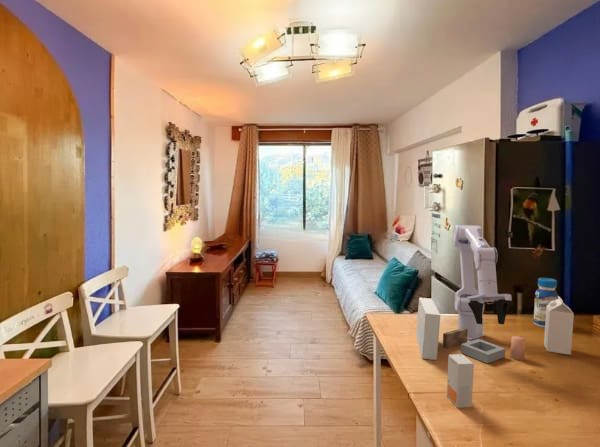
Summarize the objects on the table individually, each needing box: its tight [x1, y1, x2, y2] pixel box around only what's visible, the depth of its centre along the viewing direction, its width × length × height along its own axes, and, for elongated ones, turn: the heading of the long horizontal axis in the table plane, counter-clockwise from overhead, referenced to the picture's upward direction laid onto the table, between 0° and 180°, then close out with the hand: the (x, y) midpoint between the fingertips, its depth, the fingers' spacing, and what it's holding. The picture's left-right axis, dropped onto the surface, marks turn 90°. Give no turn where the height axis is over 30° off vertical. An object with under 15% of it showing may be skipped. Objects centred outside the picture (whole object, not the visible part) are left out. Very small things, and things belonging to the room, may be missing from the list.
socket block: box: [460, 338, 506, 364], centre depth 132 cm, size 10×10×3 cm
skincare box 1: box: [415, 297, 441, 361], centre depth 137 cm, size 21×5×16 cm, turn 168°
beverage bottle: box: [533, 277, 559, 328], centre depth 163 cm, size 8×8×20 cm
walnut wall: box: [442, 328, 468, 349], centre depth 141 cm, size 12×2×5 cm, turn 121°
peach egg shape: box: [509, 335, 526, 361], centre depth 130 cm, size 4×4×7 cm
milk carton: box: [543, 295, 575, 356], centre depth 137 cm, size 7×7×19 cm
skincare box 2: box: [446, 353, 475, 409], centre depth 102 cm, size 6×4×12 cm
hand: (490, 324), depth 124 cm, fingers open, 7 cm apart
